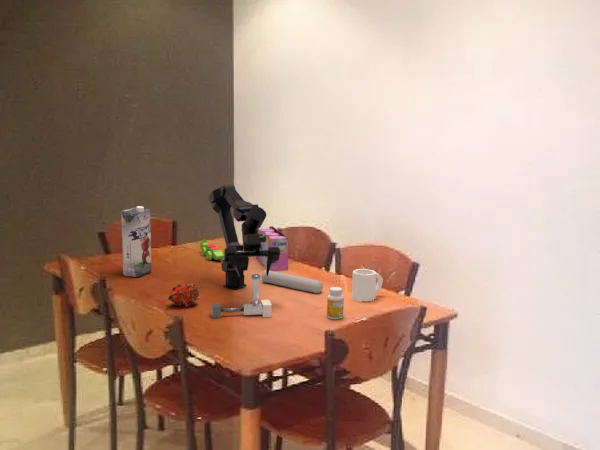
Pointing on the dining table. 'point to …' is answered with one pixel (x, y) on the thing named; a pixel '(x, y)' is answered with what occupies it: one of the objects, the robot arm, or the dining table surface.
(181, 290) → the dragon fruit
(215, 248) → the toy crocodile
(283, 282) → the tube
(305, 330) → the dining table surface
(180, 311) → the dining table surface
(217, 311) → the rod stand
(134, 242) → the juice carton
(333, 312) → the supplement bottle
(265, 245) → the gum box
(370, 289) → the mug
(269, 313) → the socket block
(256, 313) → the tube
